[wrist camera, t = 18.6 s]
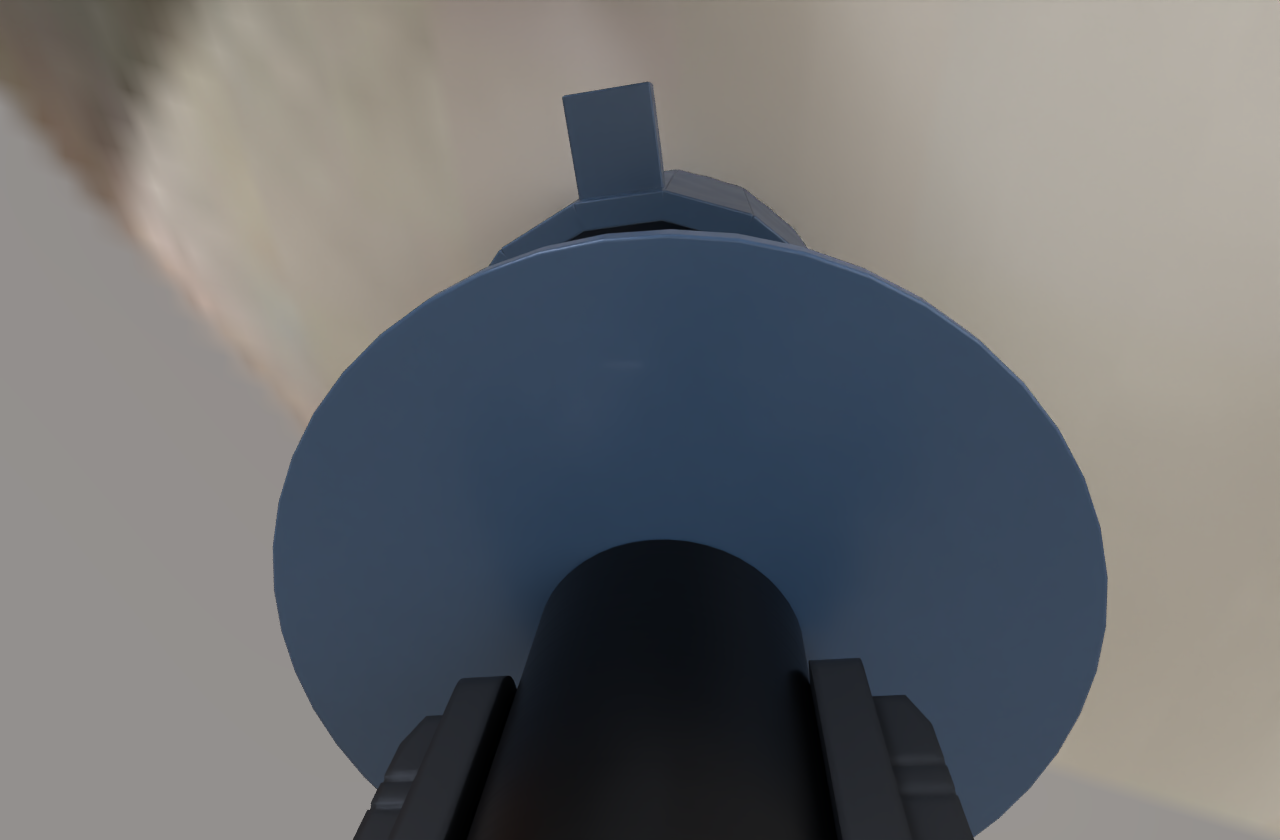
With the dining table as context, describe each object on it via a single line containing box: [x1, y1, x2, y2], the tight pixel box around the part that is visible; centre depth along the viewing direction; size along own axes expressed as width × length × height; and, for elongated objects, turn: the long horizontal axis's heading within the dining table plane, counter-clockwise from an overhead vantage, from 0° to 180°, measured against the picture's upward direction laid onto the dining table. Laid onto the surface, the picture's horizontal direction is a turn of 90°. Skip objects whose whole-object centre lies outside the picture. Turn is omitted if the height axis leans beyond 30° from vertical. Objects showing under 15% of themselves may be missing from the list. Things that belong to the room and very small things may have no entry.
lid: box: [273, 229, 1108, 840], centre depth 10 cm, size 14×14×7 cm
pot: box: [489, 82, 808, 266], centre depth 26 cm, size 13×18×8 cm
